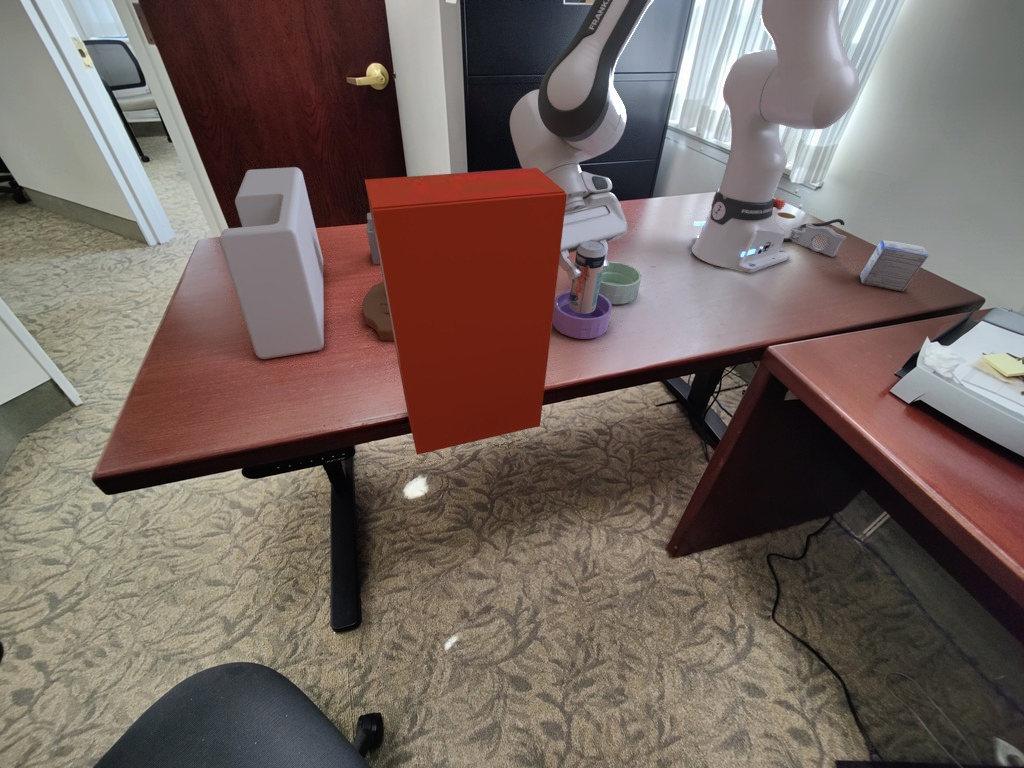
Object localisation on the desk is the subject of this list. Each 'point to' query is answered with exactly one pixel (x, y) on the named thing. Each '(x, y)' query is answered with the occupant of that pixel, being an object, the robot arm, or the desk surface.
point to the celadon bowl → (620, 283)
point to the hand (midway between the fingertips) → (590, 273)
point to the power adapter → (372, 240)
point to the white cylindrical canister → (587, 277)
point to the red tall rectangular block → (469, 297)
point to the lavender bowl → (581, 318)
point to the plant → (378, 312)
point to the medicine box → (893, 265)
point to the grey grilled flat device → (811, 233)
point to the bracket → (277, 263)
